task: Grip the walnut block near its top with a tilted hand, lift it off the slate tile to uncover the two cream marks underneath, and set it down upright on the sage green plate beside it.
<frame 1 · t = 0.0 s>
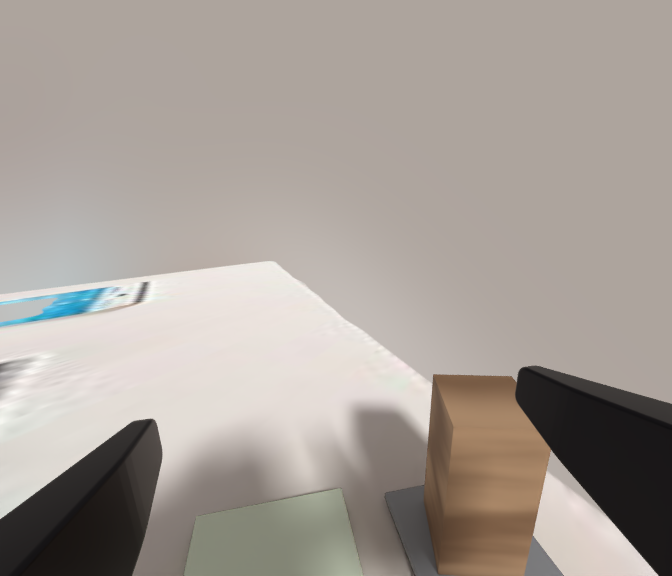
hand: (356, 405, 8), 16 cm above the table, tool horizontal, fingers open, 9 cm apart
walnut block: (467, 535, 20), resting on slate tile
slate tile: (466, 540, 21), on the table
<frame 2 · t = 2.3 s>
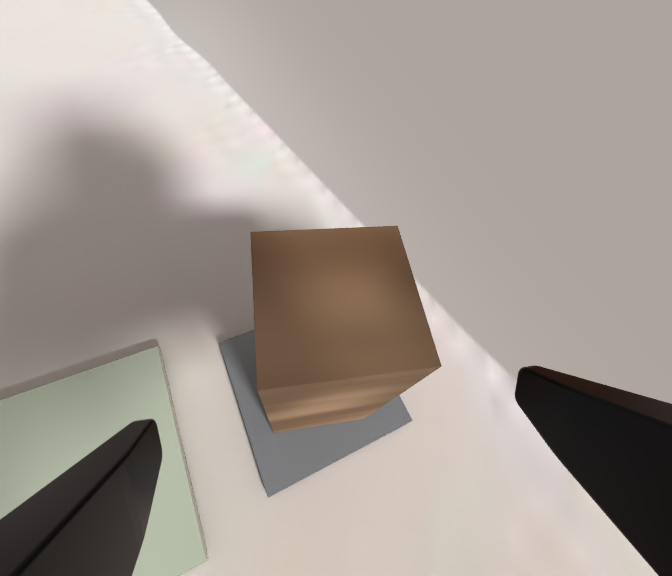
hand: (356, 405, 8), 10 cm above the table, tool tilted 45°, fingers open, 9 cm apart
sage plate: (62, 492, 14), on the table
walnut block: (313, 380, 18), resting on slate tile
slate tile: (313, 382, 18), on the table
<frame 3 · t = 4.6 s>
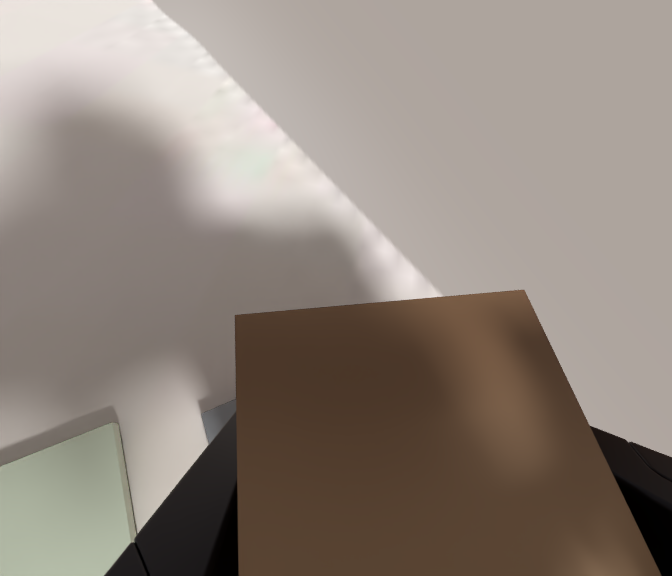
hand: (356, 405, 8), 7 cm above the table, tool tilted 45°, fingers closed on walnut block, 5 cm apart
walnut block: (333, 469, 13), resting on slate tile, touching gripper
slate tile: (332, 469, 13), on the table
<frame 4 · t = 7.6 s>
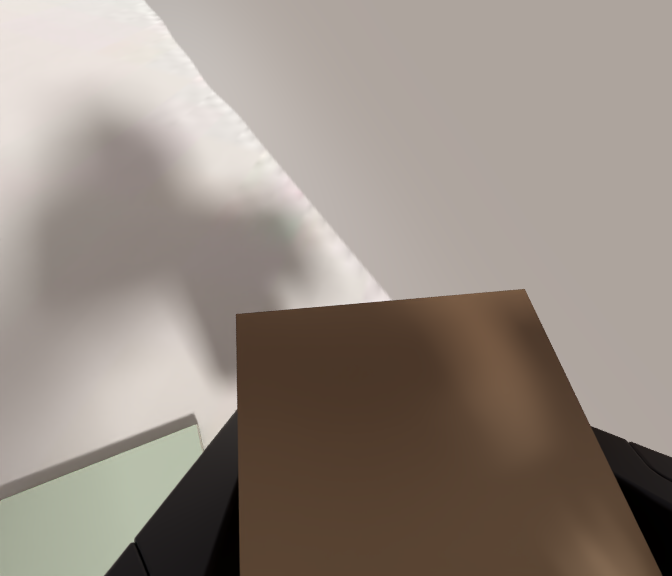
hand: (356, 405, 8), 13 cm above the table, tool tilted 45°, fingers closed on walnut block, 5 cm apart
sage plate: (113, 570, 16), on the table
walnut block: (334, 468, 13), point 7 cm above the table, touching gripper
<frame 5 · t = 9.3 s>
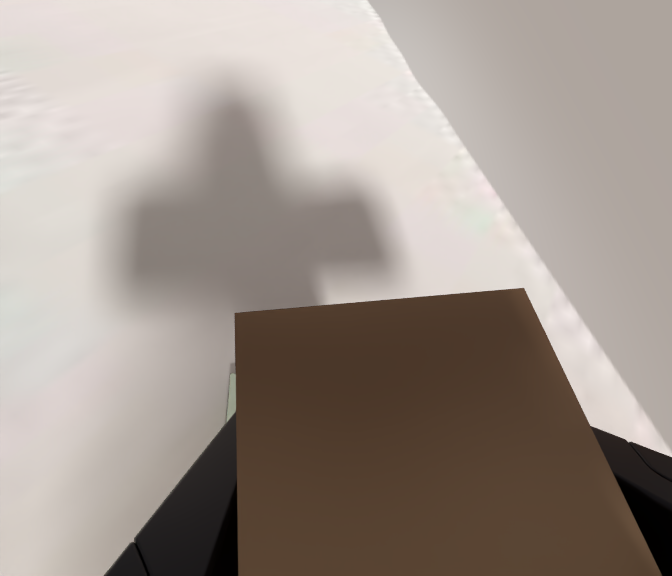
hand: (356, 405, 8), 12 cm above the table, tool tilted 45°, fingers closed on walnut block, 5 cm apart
sage plate: (320, 465, 17), on the table
walnut block: (333, 468, 13), point 6 cm above the table, touching gripper
when the fingers open (8 cm above the table, at t = 10.8 s): walnut block drops 1 cm, resting on sage plate.
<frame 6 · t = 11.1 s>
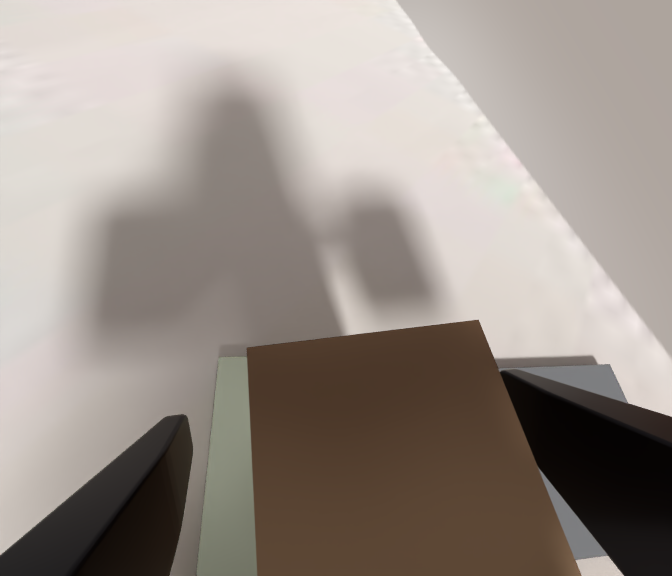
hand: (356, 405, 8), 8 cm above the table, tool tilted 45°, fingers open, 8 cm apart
sage plate: (328, 468, 14), on the table
walnut block: (330, 467, 14), resting on sage plate
slate tile: (570, 449, 16), on the table
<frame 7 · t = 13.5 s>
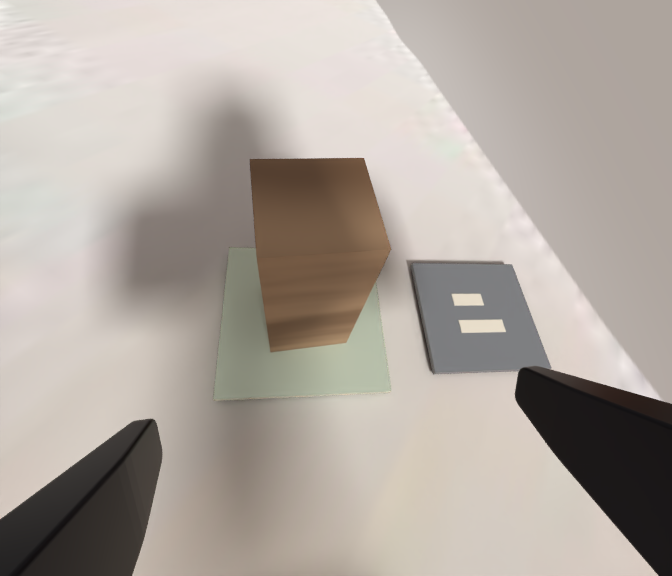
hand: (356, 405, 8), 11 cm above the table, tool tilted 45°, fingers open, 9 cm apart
sage plate: (303, 316, 21), on the table
walnut block: (304, 312, 21), resting on sage plate
slate tile: (475, 314, 23), on the table
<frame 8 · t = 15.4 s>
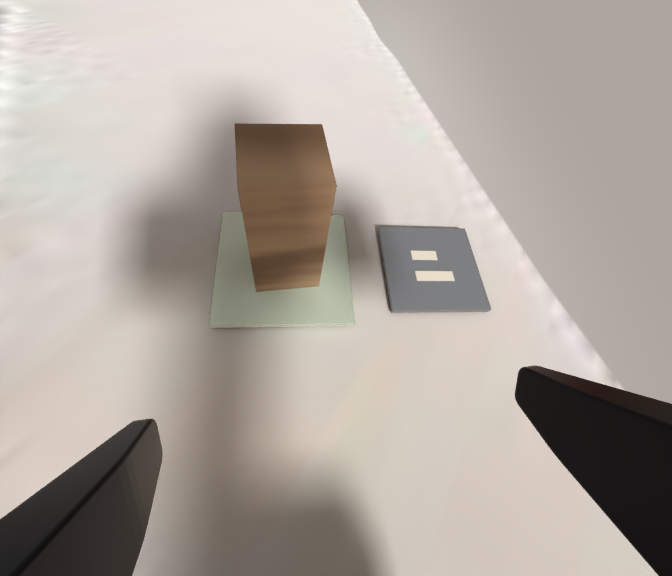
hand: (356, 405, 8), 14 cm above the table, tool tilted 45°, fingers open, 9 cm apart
sage plate: (284, 266, 25), on the table
walnut block: (285, 262, 25), resting on sage plate
slate tile: (430, 268, 27), on the table
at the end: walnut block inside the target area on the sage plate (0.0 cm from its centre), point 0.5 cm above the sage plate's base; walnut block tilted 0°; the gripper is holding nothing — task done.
